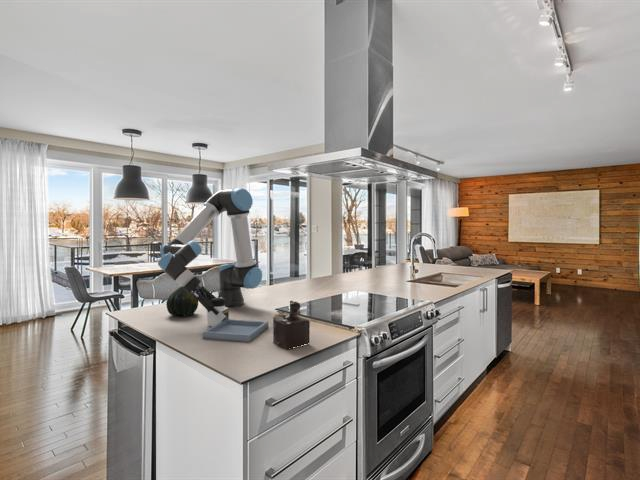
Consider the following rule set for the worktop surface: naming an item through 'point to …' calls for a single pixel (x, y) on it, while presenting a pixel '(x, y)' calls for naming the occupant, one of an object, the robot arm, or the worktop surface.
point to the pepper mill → (291, 328)
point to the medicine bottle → (220, 304)
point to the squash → (181, 303)
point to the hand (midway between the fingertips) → (225, 315)
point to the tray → (235, 330)
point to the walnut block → (278, 316)
